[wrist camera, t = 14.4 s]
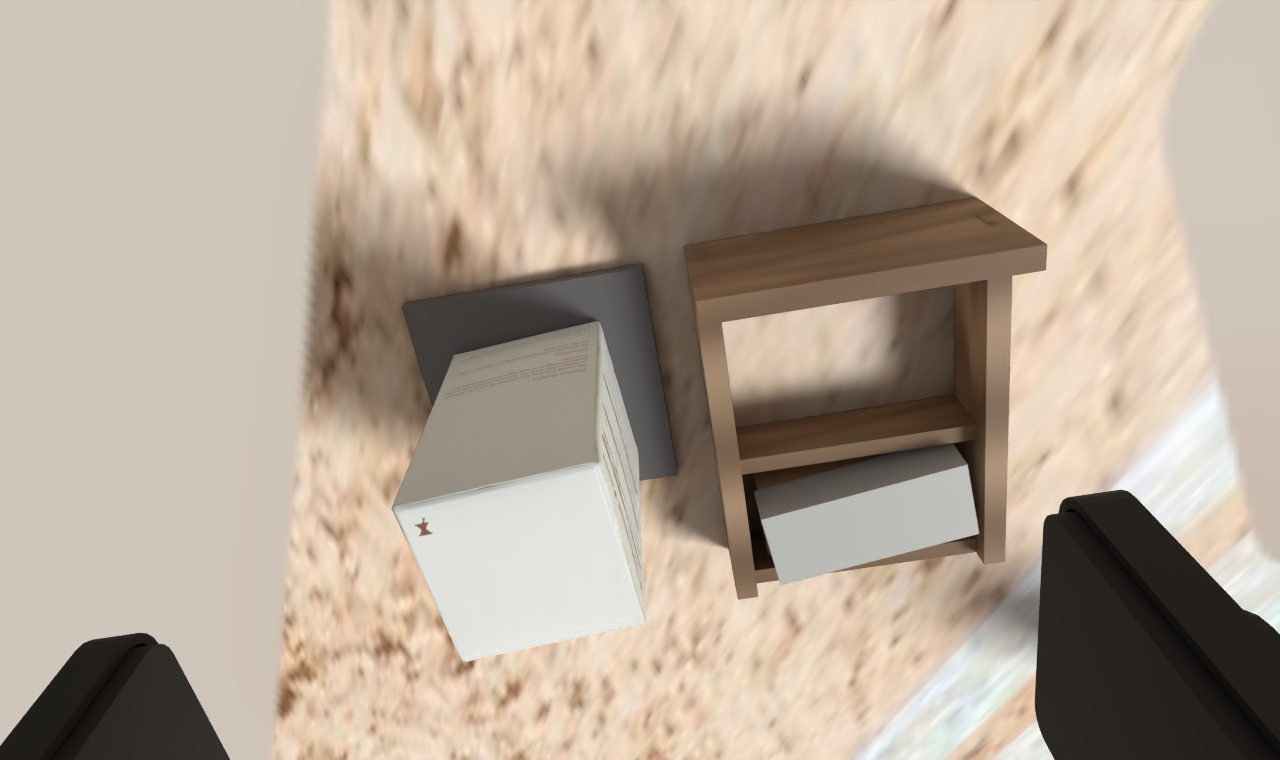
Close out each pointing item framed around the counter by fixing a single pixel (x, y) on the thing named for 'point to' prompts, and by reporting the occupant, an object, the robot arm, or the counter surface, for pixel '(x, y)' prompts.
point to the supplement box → (528, 496)
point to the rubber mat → (549, 308)
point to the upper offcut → (867, 511)
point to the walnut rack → (972, 418)
